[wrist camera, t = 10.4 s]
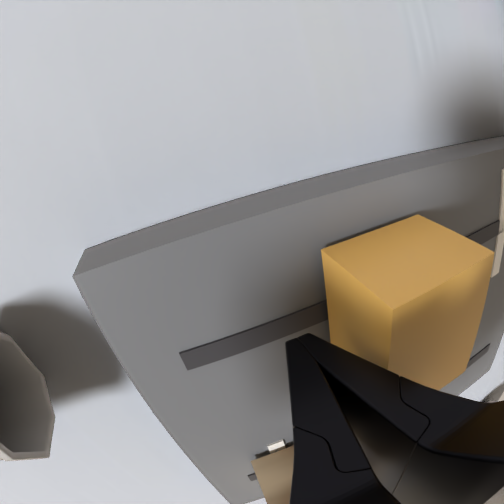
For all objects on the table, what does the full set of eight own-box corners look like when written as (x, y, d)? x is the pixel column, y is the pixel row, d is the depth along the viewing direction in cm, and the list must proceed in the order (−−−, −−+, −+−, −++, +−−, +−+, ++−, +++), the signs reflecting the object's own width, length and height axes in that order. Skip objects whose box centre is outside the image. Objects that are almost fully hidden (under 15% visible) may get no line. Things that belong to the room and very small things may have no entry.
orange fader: (418, 214, 10) (494, 252, 7) (411, 323, 12) (465, 371, 9) (321, 249, 10) (392, 309, 6) (332, 363, 12) (379, 427, 9)
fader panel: (508, 135, 13) (535, 141, 12) (474, 356, 21) (490, 370, 20) (84, 249, 10) (71, 278, 8) (225, 483, 18) (233, 508, 16)
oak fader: (326, 431, 14) (359, 483, 11) (329, 467, 16) (353, 510, 13) (250, 461, 13) (273, 519, 10) (268, 492, 15) (287, 537, 12)
